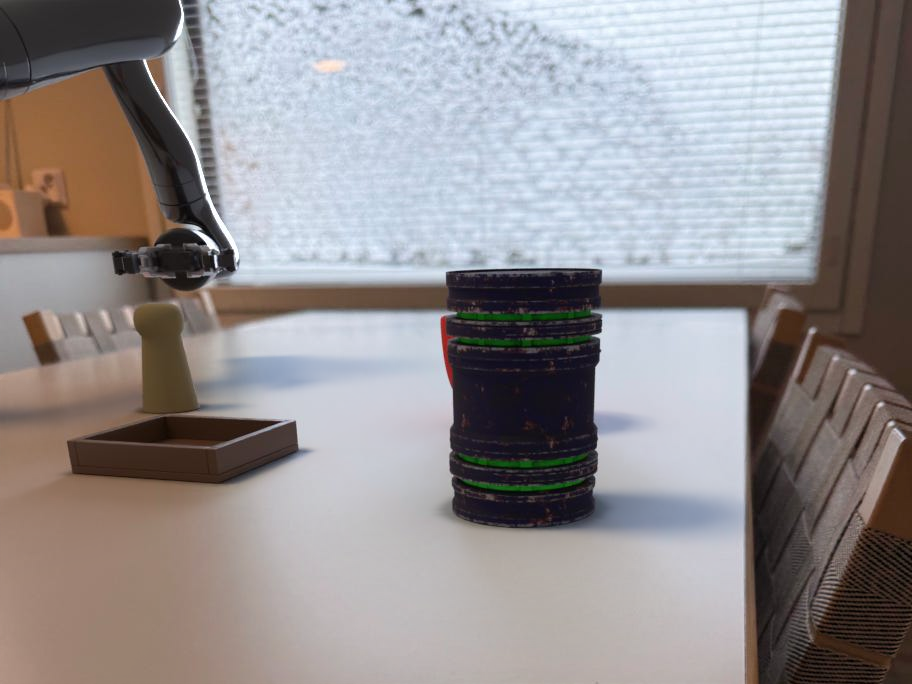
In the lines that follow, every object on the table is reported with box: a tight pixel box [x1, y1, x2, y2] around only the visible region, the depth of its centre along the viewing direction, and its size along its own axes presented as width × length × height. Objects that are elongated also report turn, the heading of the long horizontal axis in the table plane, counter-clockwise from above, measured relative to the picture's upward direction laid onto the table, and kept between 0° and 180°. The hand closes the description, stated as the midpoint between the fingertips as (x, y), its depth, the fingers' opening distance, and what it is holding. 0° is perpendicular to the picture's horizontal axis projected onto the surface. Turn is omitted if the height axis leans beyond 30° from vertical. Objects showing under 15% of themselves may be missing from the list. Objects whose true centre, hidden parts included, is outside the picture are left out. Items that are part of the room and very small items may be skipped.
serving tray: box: [66, 413, 300, 484], centre depth 79 cm, size 14×13×3 cm
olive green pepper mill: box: [132, 302, 200, 414], centre depth 103 cm, size 6×6×11 cm
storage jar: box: [445, 267, 603, 528], centre depth 62 cm, size 10×10×15 cm
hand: (168, 262), depth 110 cm, fingers open, 8 cm apart
